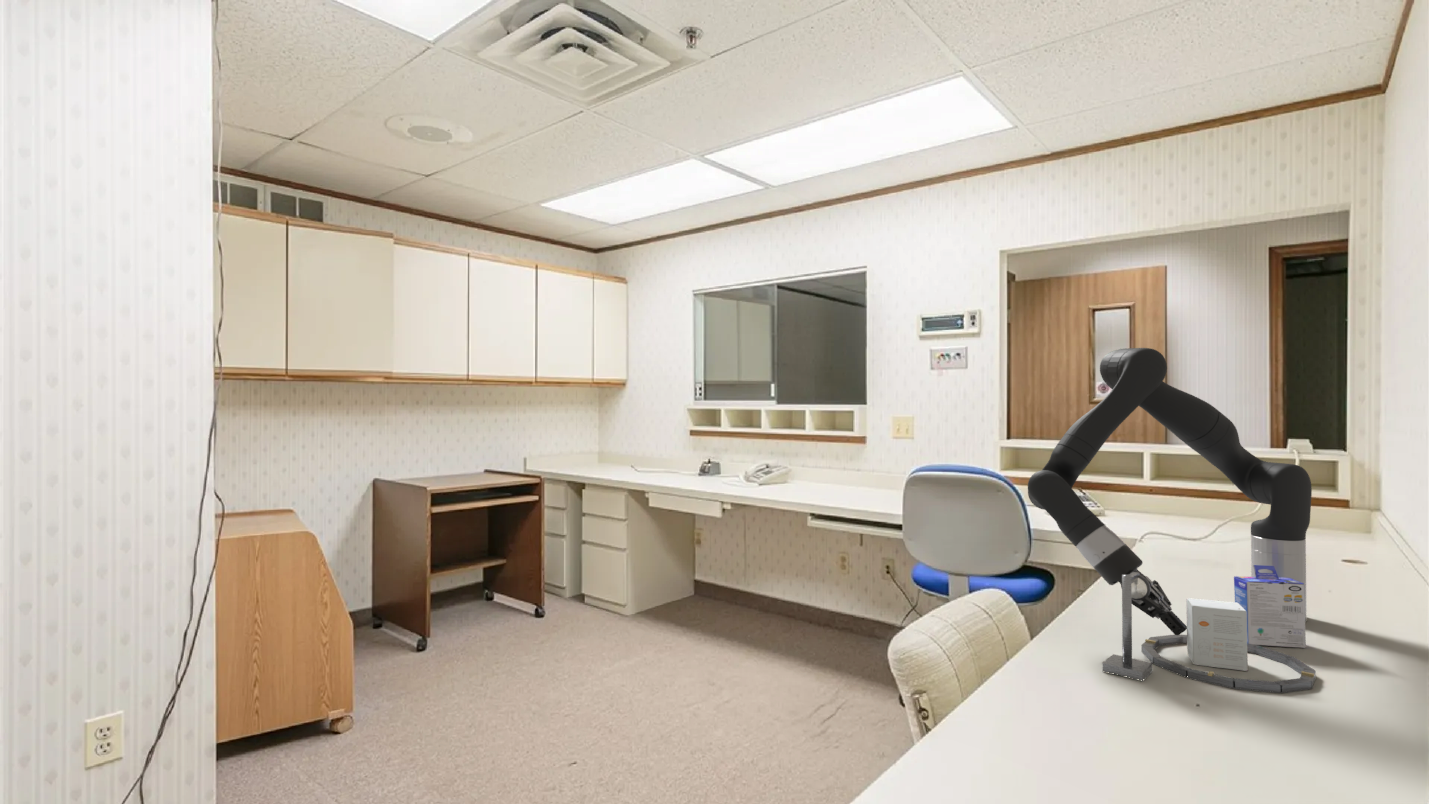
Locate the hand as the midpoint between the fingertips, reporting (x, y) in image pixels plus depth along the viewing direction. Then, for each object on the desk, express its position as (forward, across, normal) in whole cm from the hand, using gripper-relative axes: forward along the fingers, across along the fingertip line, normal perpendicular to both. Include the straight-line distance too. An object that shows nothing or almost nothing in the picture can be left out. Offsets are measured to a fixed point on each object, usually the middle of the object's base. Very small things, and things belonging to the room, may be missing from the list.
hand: (1182, 632), depth 126 cm
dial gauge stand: (0, -15, +6) cm, 16 cm away
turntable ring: (+7, 0, -2) cm, 7 cm away
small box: (+7, 0, -1) cm, 7 cm away
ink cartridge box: (+10, +20, -4) cm, 23 cm away
